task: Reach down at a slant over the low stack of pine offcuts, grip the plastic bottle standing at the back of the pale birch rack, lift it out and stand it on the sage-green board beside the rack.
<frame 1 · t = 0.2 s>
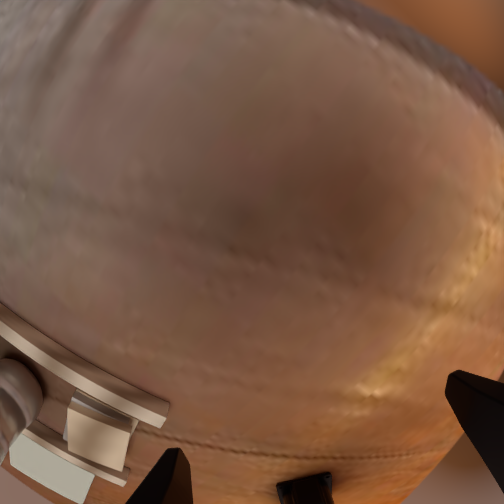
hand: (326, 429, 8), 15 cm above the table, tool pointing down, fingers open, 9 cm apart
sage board: (49, 465, 26), on the table
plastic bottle: (25, 378, 23), resting in birch rack
offcut stack: (101, 422, 25), on the table
birch rack: (24, 379, 23), on the table
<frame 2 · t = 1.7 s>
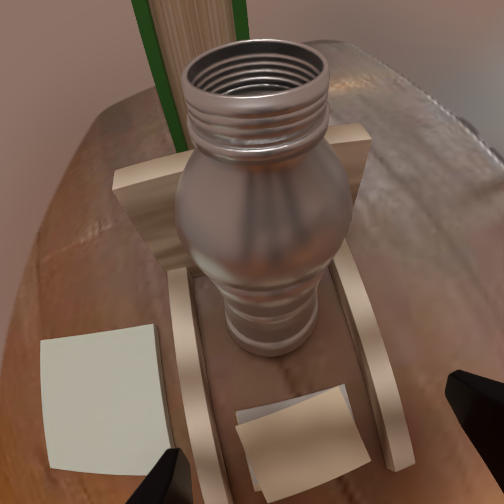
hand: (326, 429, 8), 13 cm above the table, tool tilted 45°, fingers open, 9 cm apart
hardback book: (225, 134, 36), on the table
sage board: (100, 404, 21), on the table
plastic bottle: (271, 322, 24), resting in birch rack
offcut stack: (300, 439, 19), on the table
birch rack: (271, 321, 24), on the table
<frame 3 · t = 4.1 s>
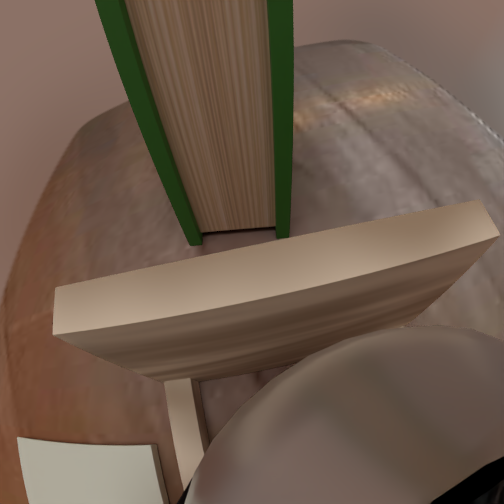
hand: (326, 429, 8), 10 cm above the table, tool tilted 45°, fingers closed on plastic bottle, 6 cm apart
hardback book: (236, 161, 28), on the table
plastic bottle: (306, 442, 16), resting in birch rack, touching gripper
birch rack: (306, 442, 16), on the table
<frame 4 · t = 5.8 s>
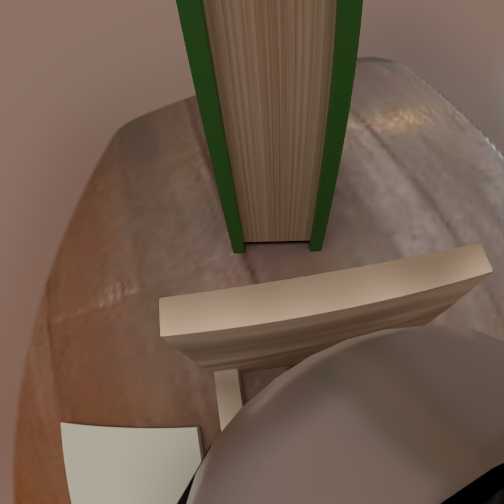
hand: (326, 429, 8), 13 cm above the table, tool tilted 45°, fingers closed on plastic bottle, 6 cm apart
hardback book: (274, 176, 31), on the table
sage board: (136, 496, 17), on the table
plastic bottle: (306, 441, 16), point 3 cm above the table, touching gripper
birch rack: (329, 426, 19), on the table
when the fingers open (12 cm above the table, at t = 7.8 s): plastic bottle drops 1 cm, resting on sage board.
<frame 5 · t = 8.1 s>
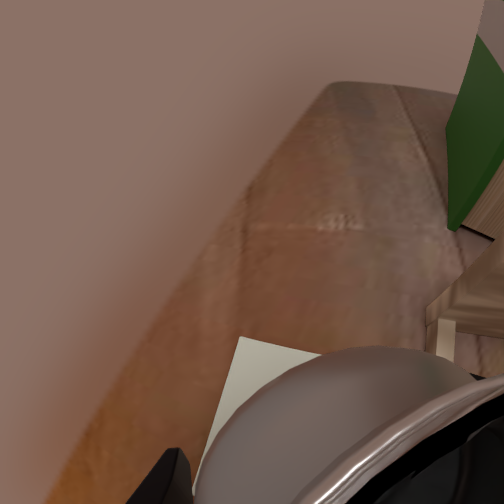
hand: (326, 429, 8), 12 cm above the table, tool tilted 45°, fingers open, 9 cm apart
hardback book: (473, 182, 28), on the table
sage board: (302, 439, 18), on the table
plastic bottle: (303, 441, 17), point 1 cm above the table, touching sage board
birch rack: (490, 396, 17), on the table
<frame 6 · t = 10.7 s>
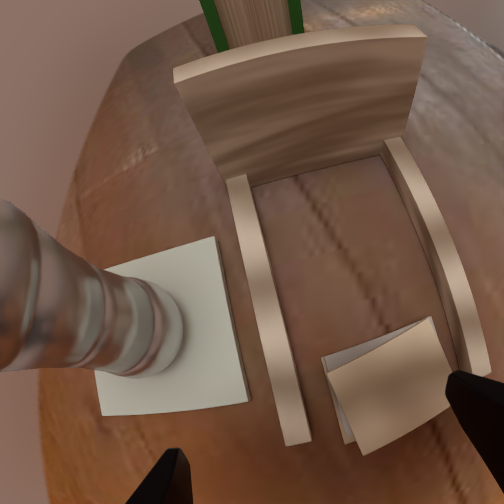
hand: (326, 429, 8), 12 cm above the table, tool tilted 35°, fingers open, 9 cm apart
hardback book: (264, 56, 31), on the table
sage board: (158, 333, 22), on the table
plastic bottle: (153, 333, 21), point 1 cm above the table, touching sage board
offcut stack: (387, 381, 18), on the table
birch rack: (339, 224, 22), on the table
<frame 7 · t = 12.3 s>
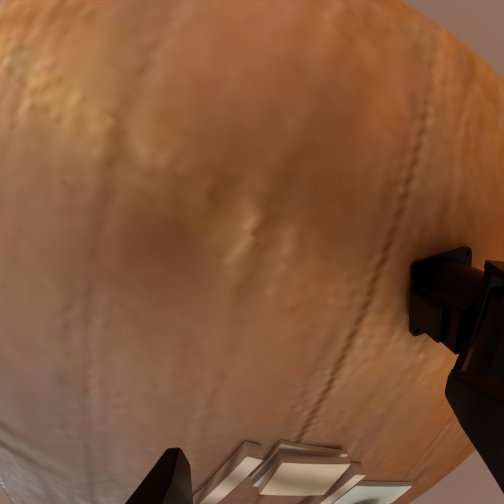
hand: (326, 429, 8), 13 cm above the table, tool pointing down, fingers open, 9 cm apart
offcut stack: (297, 461, 26), on the table
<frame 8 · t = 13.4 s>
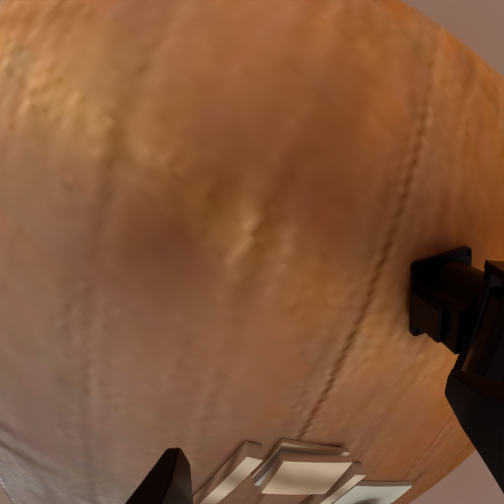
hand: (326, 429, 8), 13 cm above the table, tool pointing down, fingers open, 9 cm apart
offcut stack: (299, 460, 26), on the table
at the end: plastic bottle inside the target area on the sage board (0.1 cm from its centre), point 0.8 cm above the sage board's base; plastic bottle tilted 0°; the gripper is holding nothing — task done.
